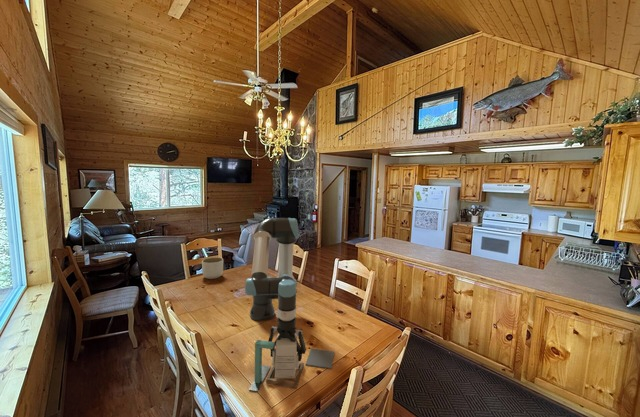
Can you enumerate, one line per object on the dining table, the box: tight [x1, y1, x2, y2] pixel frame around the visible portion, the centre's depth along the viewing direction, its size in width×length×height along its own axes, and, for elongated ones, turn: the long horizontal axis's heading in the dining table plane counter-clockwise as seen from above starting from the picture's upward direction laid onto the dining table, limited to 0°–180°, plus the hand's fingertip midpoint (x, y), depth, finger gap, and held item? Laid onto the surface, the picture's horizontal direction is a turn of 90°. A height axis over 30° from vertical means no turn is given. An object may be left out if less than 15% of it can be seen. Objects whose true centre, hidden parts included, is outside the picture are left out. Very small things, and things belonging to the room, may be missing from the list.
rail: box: [248, 364, 271, 393], centre depth 113 cm, size 4×14×1 cm, turn 170°
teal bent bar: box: [254, 339, 276, 383], centre depth 110 cm, size 8×2×17 cm, turn 80°
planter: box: [201, 256, 224, 280], centre depth 228 cm, size 17×17×15 cm
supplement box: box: [274, 333, 298, 379], centre depth 115 cm, size 9×9×15 cm
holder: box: [265, 362, 305, 390], centre depth 116 cm, size 13×13×2 cm
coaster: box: [305, 347, 335, 370], centre depth 127 cm, size 12×12×1 cm
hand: (285, 365), depth 116 cm, fingers closed on supplement box, 10 cm apart
